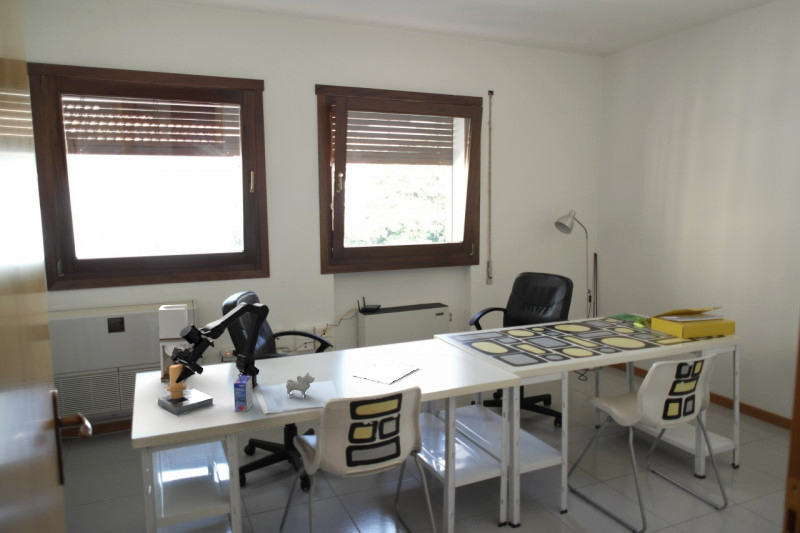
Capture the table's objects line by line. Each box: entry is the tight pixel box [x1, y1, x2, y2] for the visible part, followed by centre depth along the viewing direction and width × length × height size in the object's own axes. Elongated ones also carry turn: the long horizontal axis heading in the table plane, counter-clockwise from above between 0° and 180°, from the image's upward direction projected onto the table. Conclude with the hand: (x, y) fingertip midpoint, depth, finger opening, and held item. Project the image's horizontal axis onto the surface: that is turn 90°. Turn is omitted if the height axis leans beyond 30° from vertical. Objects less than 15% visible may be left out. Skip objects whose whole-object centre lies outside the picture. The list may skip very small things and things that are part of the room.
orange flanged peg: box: [166, 364, 187, 399], centre depth 217 cm, size 8×8×13 cm
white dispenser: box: [158, 304, 189, 383], centre depth 253 cm, size 11×11×35 cm
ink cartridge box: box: [233, 372, 254, 412], centre depth 219 cm, size 10×6×14 cm, turn 2°
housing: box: [157, 388, 214, 416], centre depth 221 cm, size 16×16×3 cm
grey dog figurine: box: [285, 372, 316, 396], centre depth 233 cm, size 5×13×11 cm, turn 89°
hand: (173, 381), depth 216 cm, fingers closed on orange flanged peg, 5 cm apart
